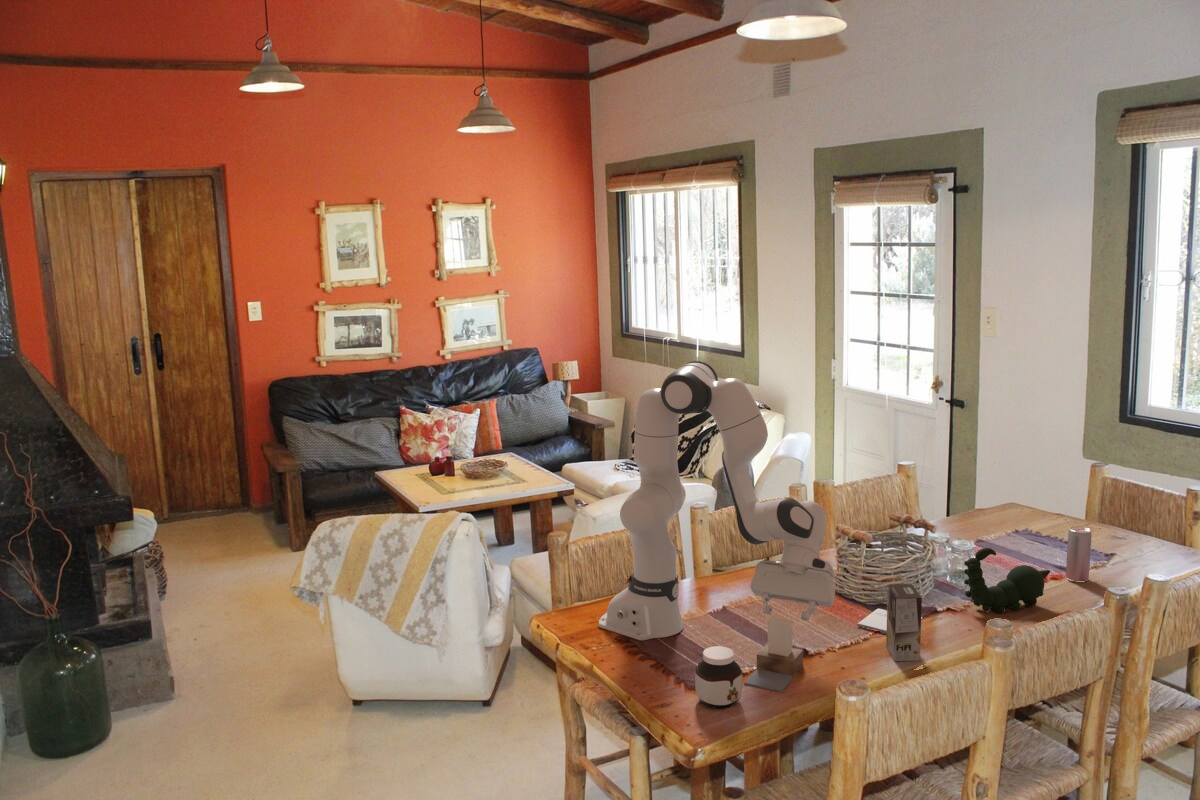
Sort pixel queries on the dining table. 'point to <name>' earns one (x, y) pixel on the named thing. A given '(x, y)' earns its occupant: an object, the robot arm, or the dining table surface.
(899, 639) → the coffee box
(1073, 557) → the beverage can
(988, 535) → the dining table surface
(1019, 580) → the toy figurine
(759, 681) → the mat
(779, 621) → the block
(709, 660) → the spread jar
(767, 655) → the deck
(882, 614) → the external hard drive
